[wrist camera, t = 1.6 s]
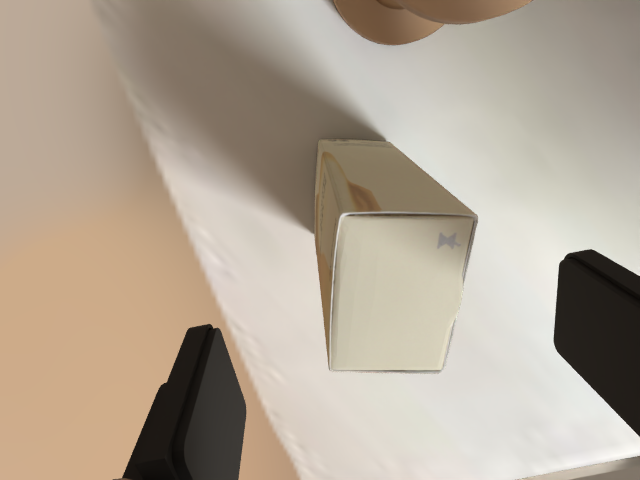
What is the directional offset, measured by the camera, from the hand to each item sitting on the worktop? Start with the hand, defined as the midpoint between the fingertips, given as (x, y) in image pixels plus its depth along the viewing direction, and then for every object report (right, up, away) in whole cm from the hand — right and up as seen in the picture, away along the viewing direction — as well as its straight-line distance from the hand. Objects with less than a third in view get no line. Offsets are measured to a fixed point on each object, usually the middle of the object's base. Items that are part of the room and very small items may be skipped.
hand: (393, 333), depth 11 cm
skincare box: (0, +5, +13) cm, 14 cm away
